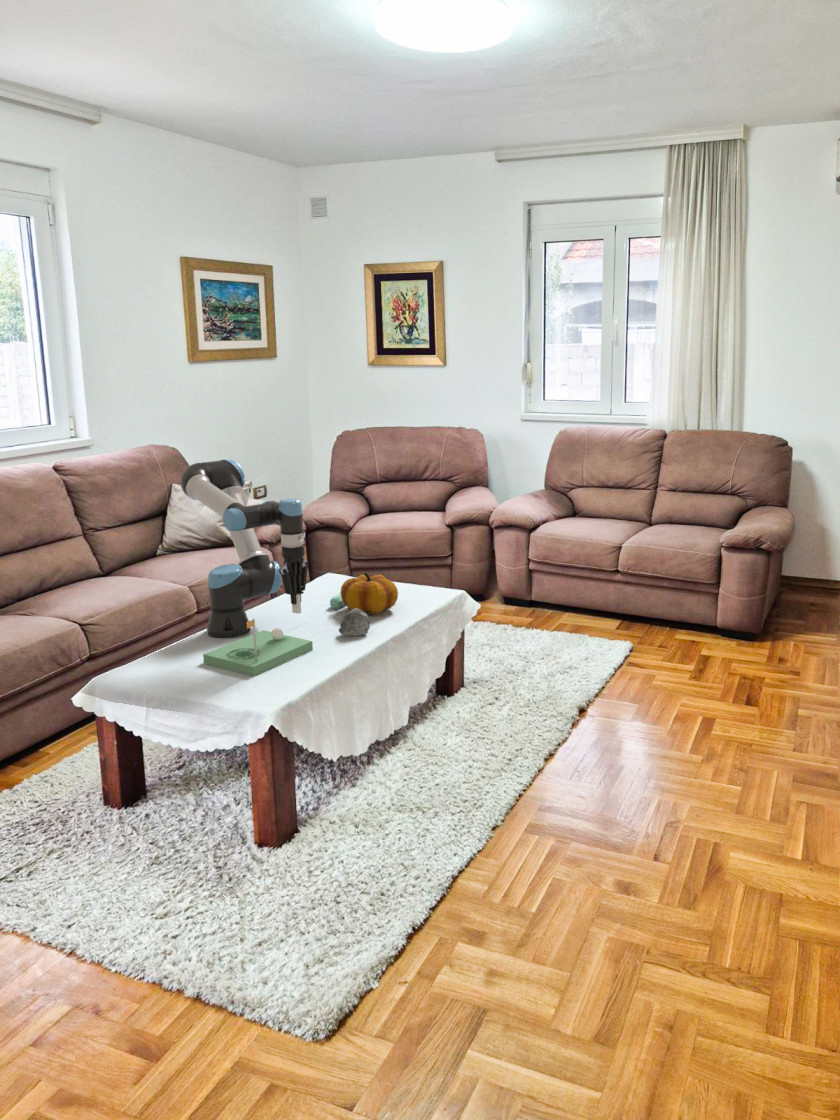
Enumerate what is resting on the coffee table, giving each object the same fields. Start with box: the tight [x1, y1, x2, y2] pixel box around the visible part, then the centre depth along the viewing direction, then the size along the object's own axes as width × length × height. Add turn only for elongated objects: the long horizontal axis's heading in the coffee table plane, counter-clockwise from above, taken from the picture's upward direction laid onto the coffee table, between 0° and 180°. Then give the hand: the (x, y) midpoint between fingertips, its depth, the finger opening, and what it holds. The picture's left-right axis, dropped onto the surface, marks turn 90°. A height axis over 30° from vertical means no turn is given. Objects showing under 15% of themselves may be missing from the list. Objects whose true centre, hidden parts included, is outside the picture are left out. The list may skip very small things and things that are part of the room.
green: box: [202, 618, 314, 677], centre depth 298 cm, size 28×22×17 cm
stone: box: [338, 608, 370, 637], centre depth 320 cm, size 10×10×10 cm
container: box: [329, 592, 346, 610], centre depth 359 cm, size 6×6×25 cm
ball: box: [270, 627, 284, 640], centre depth 306 cm, size 4×4×4 cm
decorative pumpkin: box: [339, 571, 399, 615], centre depth 345 cm, size 20×22×15 cm
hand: (296, 612), depth 313 cm, fingers closed
